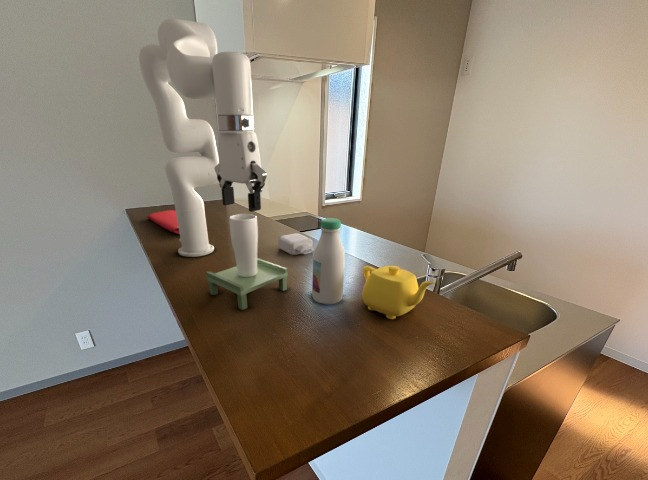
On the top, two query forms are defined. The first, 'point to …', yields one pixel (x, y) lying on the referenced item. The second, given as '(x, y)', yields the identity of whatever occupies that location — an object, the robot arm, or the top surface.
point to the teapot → (392, 290)
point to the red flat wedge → (166, 220)
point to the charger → (295, 244)
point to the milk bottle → (328, 264)
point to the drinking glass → (245, 243)
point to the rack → (248, 280)
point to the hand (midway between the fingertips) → (241, 207)
